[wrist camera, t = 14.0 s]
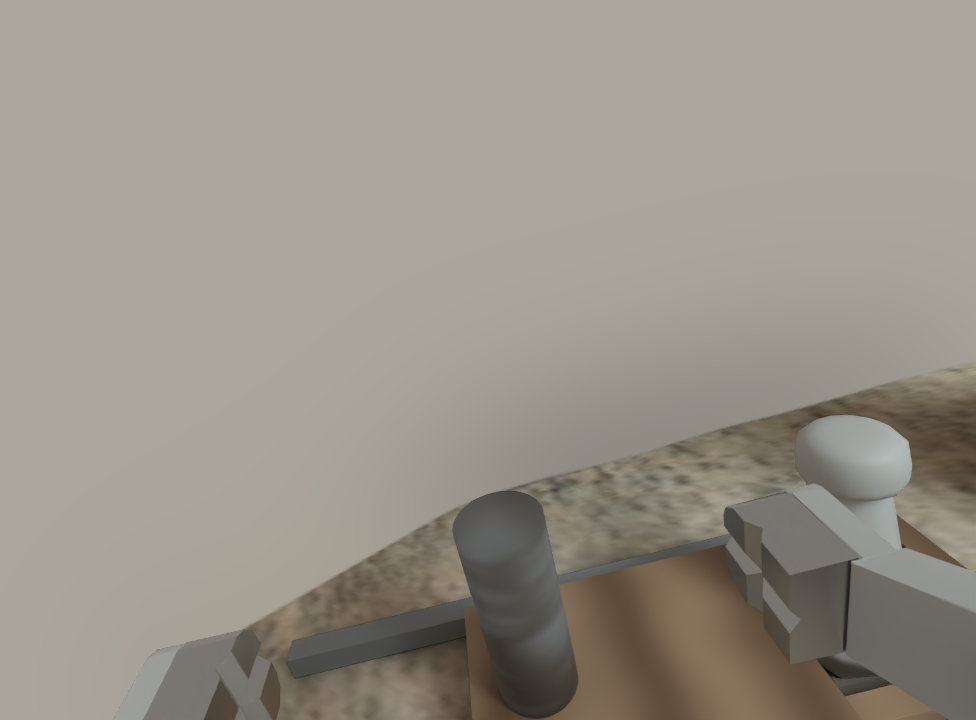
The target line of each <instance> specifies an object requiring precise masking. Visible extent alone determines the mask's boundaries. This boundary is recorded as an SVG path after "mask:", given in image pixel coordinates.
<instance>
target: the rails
mask: <svg viewBox="0 0 976 720" xmlns="http://www.w3.org/2000/svg"><path fill="white" fill-rule="evenodd" d="M731 537H732V536H731V534H728V535H724V536H720V537H715V538H711V539H707V540H703V541H699V542H695V543H691V544H687V545H683V546H679V547H675V548H670V549H666V550H662V551H658V552H654V553H650V554H646V555H642V556H638V557H634V558H630V559H625V560H621V561H617V562H613V563H609V564H605V565H601V566H597V567H593V568H589V569H584V570H580V571H576V572H572V573H568V574H564V575H560V576H557V578H558V583H559V585H561V584H565V583H569V582H573V581H577V580H581V579H585V578H589V577H593V576H597V575H601V574H606V573H610V572H614V571H618V570H622V569H626V568H630V567H634V566H638V565H642V564H646V563H651V562H655V561H659V560H663V559H667V558H671V557H675V556H679V555H683V554H687V553H691V552H696V551H700V550H704V549H708V548H712V547H716V546H720V545H724V544H727V543H728V542H729V540H730V539H731ZM471 606H474V603H473V599H472V597H470V598H466V599H462V600H458V601H453V602H449V603H445V604H441V605H437V606H433V607H429V608H425V609H421V610H417V611H413V612H408V613H404V614H400V615H396V616H392V617H388V618H384V619H380V620H376V621H372V622H368V623H363V624H359V625H355V626H351V627H347V628H343V629H339V630H335V631H331V632H327V633H322V634H318V635H314V636H310V637H306V638H302V639H298V640H294V641H292V644H291V648H290V651H289V655H288V658H287V664H288V666H289V668H290V669H291V671H292V673H293V675H294V677H295V678H299V677H303V676H307V675H311V674H315V673H319V672H323V671H327V670H331V669H335V668H339V667H343V666H348V665H352V664H356V663H360V662H364V661H368V660H372V659H376V658H380V657H384V656H388V655H392V654H396V653H401V652H405V651H409V650H413V649H417V648H421V647H425V646H429V645H433V644H437V643H441V642H445V641H449V640H454V639H458V638H462V637H466V629H465V615H464V608H467V607H471Z"/></svg>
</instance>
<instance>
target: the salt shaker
mask: <svg viewBox="0 0 976 720" xmlns="http://www.w3.org/2000/svg"><path fill="white" fill-rule="evenodd" d="M794 455H795V466H796V468H797V471H798V472H799V474H800V475H801V477H802V478H803V479H804V481H805V482H806V483H807V484H806V485H810V484H813V483H814V484H817V485H820V486H822V487H823V488H824V489H825V490H827V491H828V492H829V493H830V494H831V495H833V496H834V497H835V498H836V499H837V500H838V501H840V502H841V503H842V504H843V505H844V506H845V507H847V508H848V509H849V510H850V511H851V512H852V513H854V514H855V515H856V516H857V517H858V518H859V519H861V520H862V521H863V522H864V523H865V524H866V525H868V526H869V527H870V528H871V529H872V530H873V531H875V532H876V533H877V534H878V535H879V536H880V537H882V538H883V539H884V540H885V541H886V542H888V543H889V544H890V545H891V546H892V547H893V548H895V549H896V550H898V549H902V546H901V540H900V534H899V528H898V521H897V515H896V509H895V503H894V496H897V495H898V493H899V492H900V491H901V490H902V489H903V488H904V487H905V486H906V485H907V483H908V482H909V481H910V477H911V472H912V461H911V455H910V448H909V441H907V440H906V439H905V438H904V437H902V436H901V435H900V434H899V433H898V432H896V431H895V430H894V429H893V428H891V427H890V426H889V425H887V424H884V423H882V422H879V421H877V420H874V419H872V418H866V417H860V416H854V415H831V416H828V417H824V418H820V419H817V420H815V421H813V422H811V423H809V424H808V425H807V426H805V427H804V428H803V429H801V430H800V431H799V432H798V435H797V439H796V444H795V454H794ZM817 661H818V662H819V663H820V665H821V666H823V667H824V668H826V669H827V670H829V671H830V672H832V673H834V674H835V675H837V676H838V677H840V678H849V677H867V676H878V675H877V674H875V673H874V672H872V671H871V670H869V669H867V668H866V667H864V666H863V665H861V664H859V663H858V662H856V661H855V660H853V659H851V658H850V657H848V656H847V655H846V652H843V653H839V654H835V655H830V656H826V657H821V658H817Z"/></svg>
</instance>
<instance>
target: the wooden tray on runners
mask: <svg viewBox="0 0 976 720" xmlns="http://www.w3.org/2000/svg"><path fill="white" fill-rule="evenodd" d="M897 521H898V528H899V534H900V540H901V546H902V549H903V548H908V549H911V550H914V551H917V552H919V553H922V554H925V555H928V556H931V557H934V558H936V559H939V560H942V561H945V562H948V563H951V564H953V565H956V566H959V567H962V568H965V567H964V566H963V565H961V564H960V563H959V562H957V561H956V560H955V559H954V558H952V557H951V556H950V555H948V554H947V553H946V552H944V551H943V550H942V549H941V548H939V547H938V546H937V545H935V544H934V543H933V542H931V541H930V540H929V539H928V538H926V537H925V536H924V535H922V534H921V533H920V532H918V531H917V530H916V529H915V528H913V527H912V526H911V525H909V524H908V523H907V522H905V521H904V520H903V519H902V518H900V517H899V516H898V515H897ZM453 536H454V539H455V543H456V546H457V549H458V553H459V556H460V559H461V563H462V566H463V569H464V573H465V576H466V579H467V583H468V586H469V589H470V593H471V596H472V599H473V603H474V606H471V607H467V608H464V615H465V629H466V643H467V657H468V671H469V685H470V699H471V713H472V720H949V719H947V718H945V717H944V716H942V715H941V714H939V713H937V712H936V711H934V710H933V709H931V708H930V707H928V706H926V705H925V704H923V703H922V702H920V701H918V700H917V699H915V698H914V697H912V696H910V695H909V694H907V693H906V692H904V691H902V690H901V689H899V688H898V687H896V686H894V685H889V686H885V687H881V688H877V689H873V690H869V691H865V692H861V693H857V694H853V695H849V696H844V695H843V693H842V692H841V691H840V689H839V688H838V687H837V686H836V684H835V683H834V682H833V680H832V679H831V678H830V676H829V675H828V674H827V672H826V671H825V670H824V669H823V667H822V666H821V665H820V663H819V662H818V661H817V659H812V660H808V661H803V662H799V663H794V664H789V662H788V661H787V659H786V658H785V656H784V655H783V654H782V652H781V651H780V649H779V648H778V647H777V645H776V644H775V642H774V641H773V639H772V638H771V637H770V635H769V634H768V632H767V631H766V629H765V628H764V619H763V612H762V611H760V610H758V609H757V608H755V607H753V606H751V605H749V604H748V603H747V602H746V601H745V599H744V598H743V596H742V595H741V593H740V592H739V590H738V588H737V586H736V584H735V582H734V580H733V578H732V575H731V572H730V569H729V566H728V563H727V555H726V545H727V544H724V545H720V546H716V547H712V548H708V549H704V550H700V551H696V552H691V553H687V554H683V555H679V556H675V557H671V558H667V559H663V560H659V561H655V562H651V563H646V564H642V565H638V566H634V567H630V568H626V569H622V570H618V571H614V572H610V573H606V574H601V575H597V576H593V577H589V578H585V579H581V580H577V581H573V582H569V583H565V584H561V585H559V583H558V578H557V573H556V569H555V564H554V559H553V555H552V550H551V545H550V541H549V536H548V531H547V527H546V522H545V517H544V513H543V509H542V506H541V505H540V503H539V502H538V501H537V500H536V499H535V498H534V497H532V496H530V495H528V494H525V493H522V492H517V491H500V492H494V493H491V494H487V495H484V496H482V497H480V498H477V499H476V500H474V501H472V502H471V503H469V504H468V505H467V506H465V507H464V508H463V509H462V510H461V511H460V513H459V514H458V515H457V517H456V519H455V521H454V524H453ZM965 569H967V568H965Z"/></svg>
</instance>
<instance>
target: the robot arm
mask: <svg viewBox="0 0 976 720" xmlns="http://www.w3.org/2000/svg"><path fill="white" fill-rule="evenodd" d="M724 526H725V528H726V529H727V530H728V532H729V533H730V534H731V536H732V537H731V539H730V540H729V542H728V543H727V545H726V555H727V563H728V566H729V569H730V572H731V575H732V578H733V580H734V582H735V584H736V586H737V588H738V590H739V592H740V593H741V595H742V596H743V598H744V599H745V601H746V602H747V603H748V604H749V605H751V606H753V607H755V608H757V609H758V610H760V611H762V612H763V619H764V628H765V629H766V631H767V632H768V634H769V635H770V637H771V638H772V639H773V641H774V642H775V644H776V645H777V647H778V648H779V649H780V651H781V652H782V654H783V655H784V656H785V658H786V659H787V661H788V662H789V664H794V663H799V662H803V661H808V660H812V659H817V658H821V657H826V656H830V655H835V654H839V653H843V652H846V655H847V656H848V657H850V658H851V659H853V660H855V661H856V662H858V663H859V664H861V665H863V666H864V667H866V668H867V669H869V670H871V671H872V672H874V673H875V674H877V675H878V676H880V677H882V678H883V679H885V680H886V681H888V682H890V683H891V684H893V685H894V686H896V687H898V688H899V689H901V690H902V691H904V692H906V693H907V694H909V695H910V696H912V697H914V698H915V699H917V700H918V701H920V702H922V703H923V704H925V705H926V706H928V707H930V708H931V709H933V710H934V711H936V712H937V713H939V714H941V715H942V716H944V717H945V718H947V719H949V720H976V572H973V571H970V570H968V569H965V568H962V567H959V566H956V565H953V564H951V563H948V562H945V561H942V560H939V559H936V558H934V557H931V556H928V555H925V554H922V553H919V552H917V551H914V550H911V549H908V548H903V549H898V550H896V549H895V548H893V547H892V546H891V545H890V544H889V543H888V542H886V541H885V540H884V539H883V538H882V537H880V536H879V535H878V534H877V533H876V532H875V531H873V530H872V529H871V528H870V527H869V526H868V525H866V524H865V523H864V522H863V521H862V520H861V519H859V518H858V517H857V516H856V515H855V514H854V513H852V512H851V511H850V510H849V509H848V508H847V507H845V506H844V505H843V504H842V503H841V502H840V501H838V500H837V499H836V498H835V497H834V496H833V495H831V494H830V493H829V492H828V491H827V490H825V489H824V488H823V487H822V486H820V485H817V484H814V483H813V484H810V485H806V486H802V487H798V488H795V489H791V490H787V491H784V492H783V493H777V494H773V495H769V496H765V497H762V498H758V499H754V500H750V501H747V502H743V503H739V504H735V505H731V506H728V507H726V508H725V511H724ZM260 644H261V643H260V642H259V640H258V639H257V637H256V636H255V634H254V632H253V631H252V630H240V631H236V632H231V633H227V634H222V635H218V636H213V637H209V638H204V639H200V640H196V641H191V642H187V643H186V644H182V645H177V646H173V647H168V648H163V649H159V650H157V651H156V652H154V653H153V654H152V655H151V656H149V657H148V658H147V660H146V662H145V664H144V666H143V667H142V669H141V671H140V673H139V674H138V676H137V678H136V680H135V682H134V683H133V685H132V687H131V689H130V691H129V692H128V694H127V696H126V698H125V700H124V701H123V703H122V705H121V707H120V708H119V710H118V712H117V714H116V715H115V717H114V719H113V720H276V718H277V714H278V710H279V706H280V684H279V680H278V676H277V672H276V670H275V669H274V667H273V665H272V663H271V662H270V661H268V660H266V659H264V658H262V657H260V656H258V655H257V653H258V650H259V647H260Z"/></svg>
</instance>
